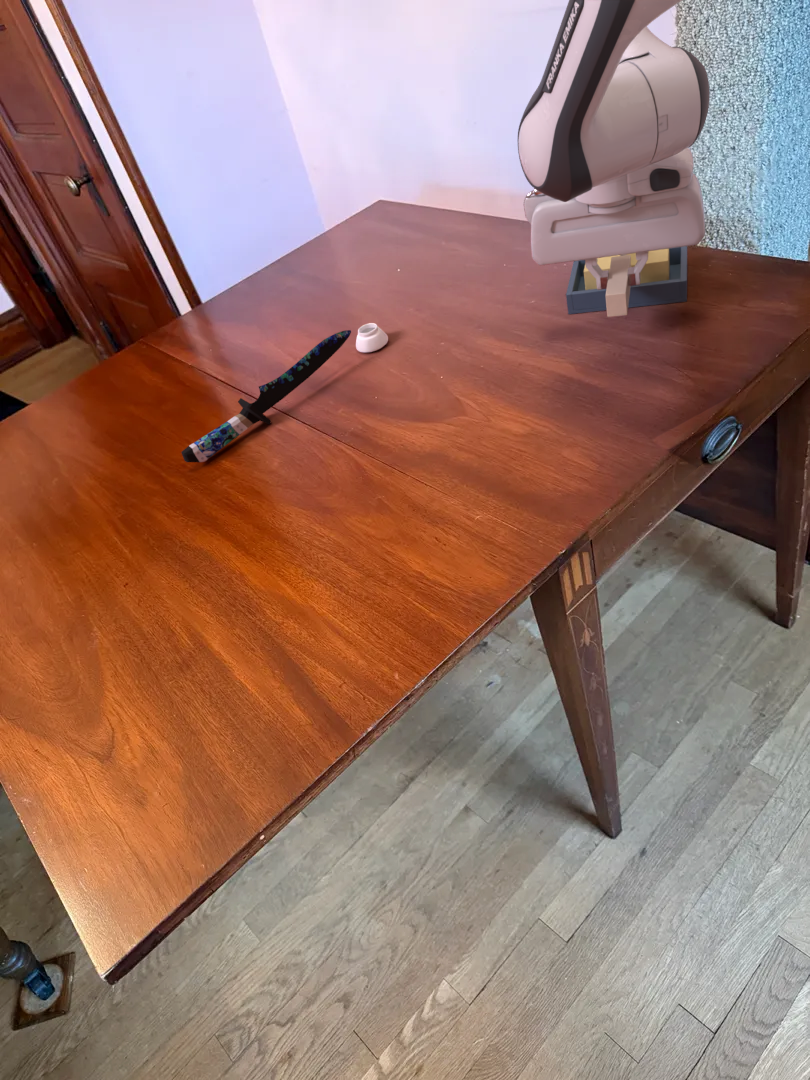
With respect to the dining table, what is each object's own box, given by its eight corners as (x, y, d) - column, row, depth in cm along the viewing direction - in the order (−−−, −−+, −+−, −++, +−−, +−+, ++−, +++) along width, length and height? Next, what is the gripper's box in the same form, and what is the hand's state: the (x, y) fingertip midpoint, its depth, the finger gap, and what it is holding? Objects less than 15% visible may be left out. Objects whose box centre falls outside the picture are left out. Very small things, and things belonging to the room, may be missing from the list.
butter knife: (627, 315, 92) (625, 293, 90) (607, 317, 93) (605, 295, 91) (637, 232, 107) (635, 211, 105) (619, 234, 108) (618, 214, 106)
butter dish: (687, 263, 106) (687, 243, 104) (686, 301, 99) (686, 280, 97) (576, 277, 112) (574, 258, 110) (568, 314, 105) (565, 294, 103)
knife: (199, 478, 102) (181, 455, 99) (190, 470, 104) (173, 446, 101) (367, 351, 109) (356, 325, 106) (356, 345, 111) (344, 320, 108)
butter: (669, 270, 105) (669, 243, 102) (668, 288, 102) (668, 260, 99) (589, 280, 109) (587, 254, 106) (586, 298, 106) (583, 271, 103)
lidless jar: (365, 358, 111) (394, 343, 112) (359, 341, 109) (388, 326, 110) (352, 347, 115) (380, 333, 116) (346, 330, 113) (374, 316, 114)
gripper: (517, 199, 87) (534, 307, 96) (706, 168, 80) (704, 287, 89) (525, 178, 91) (540, 283, 100) (705, 146, 84) (704, 262, 93)
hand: (619, 285), depth 95 cm, fingers closed on butter knife, 2 cm apart
